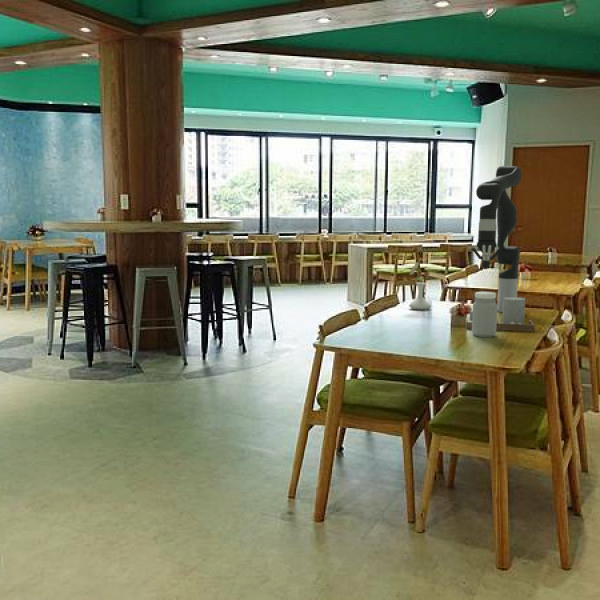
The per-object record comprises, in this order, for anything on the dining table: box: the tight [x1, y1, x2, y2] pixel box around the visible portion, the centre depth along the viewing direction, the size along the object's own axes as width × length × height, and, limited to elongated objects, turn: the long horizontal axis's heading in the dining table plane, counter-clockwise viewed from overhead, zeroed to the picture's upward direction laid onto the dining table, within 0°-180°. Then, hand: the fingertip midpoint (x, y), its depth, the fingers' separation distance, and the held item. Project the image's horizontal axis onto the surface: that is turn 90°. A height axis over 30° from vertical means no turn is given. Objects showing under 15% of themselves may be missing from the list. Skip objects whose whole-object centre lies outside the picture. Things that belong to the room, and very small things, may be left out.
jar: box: [471, 291, 498, 338], centre depth 271 cm, size 10×10×18 cm
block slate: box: [469, 309, 473, 321], centre depth 309 cm, size 4×4×4 cm
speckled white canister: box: [501, 296, 526, 324], centre depth 294 cm, size 10×10×12 cm
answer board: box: [465, 317, 535, 332], centre depth 287 cm, size 12×28×3 cm, turn 78°
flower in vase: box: [408, 261, 432, 311], centre depth 336 cm, size 13×11×25 cm
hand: (485, 269), depth 286 cm, fingers closed
